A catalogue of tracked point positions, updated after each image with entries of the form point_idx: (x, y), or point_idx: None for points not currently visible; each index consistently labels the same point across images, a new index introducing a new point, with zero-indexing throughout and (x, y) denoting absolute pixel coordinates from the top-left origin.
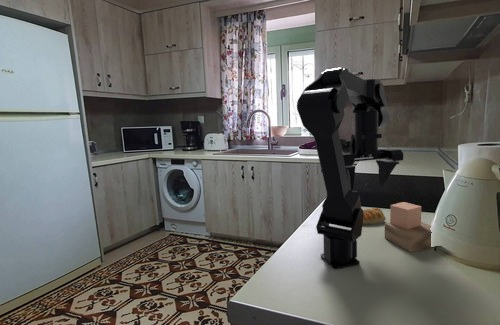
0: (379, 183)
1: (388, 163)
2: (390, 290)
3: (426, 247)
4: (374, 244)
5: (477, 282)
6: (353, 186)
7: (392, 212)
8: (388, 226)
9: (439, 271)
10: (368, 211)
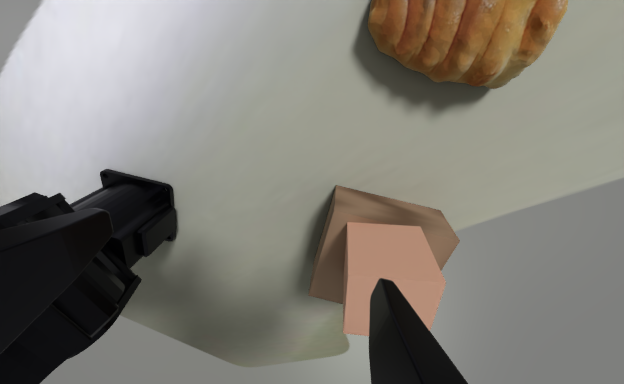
0: (383, 303)
1: None
2: (176, 300)
3: None
4: (274, 196)
5: (305, 347)
6: (77, 275)
7: (347, 260)
8: (329, 223)
9: (288, 315)
10: (466, 22)
